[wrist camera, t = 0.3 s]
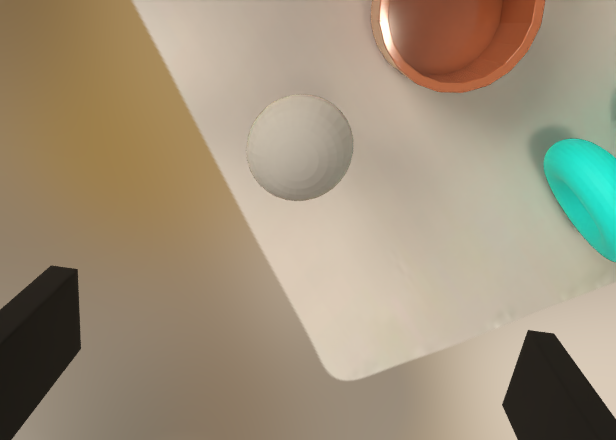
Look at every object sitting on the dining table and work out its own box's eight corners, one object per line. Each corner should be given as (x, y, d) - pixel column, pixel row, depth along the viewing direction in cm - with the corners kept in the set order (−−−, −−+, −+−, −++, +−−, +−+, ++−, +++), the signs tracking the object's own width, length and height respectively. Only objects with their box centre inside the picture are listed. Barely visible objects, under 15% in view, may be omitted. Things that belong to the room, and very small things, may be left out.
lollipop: (304, 165, 41) (291, 237, 27) (254, 111, 40) (214, 158, 26) (362, 115, 40) (379, 164, 26) (312, 56, 38) (302, 75, 24)
